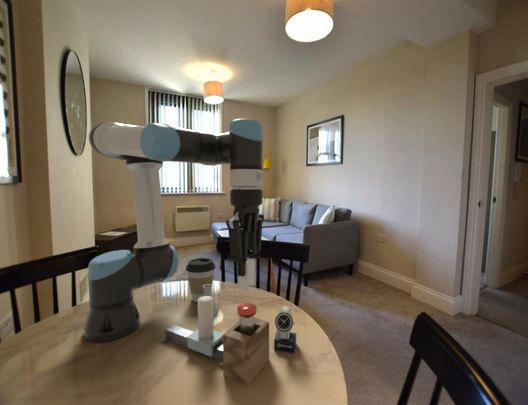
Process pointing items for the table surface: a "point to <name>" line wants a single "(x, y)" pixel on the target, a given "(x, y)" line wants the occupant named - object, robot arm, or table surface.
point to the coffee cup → (199, 276)
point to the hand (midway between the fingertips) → (246, 286)
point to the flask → (209, 293)
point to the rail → (180, 338)
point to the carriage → (205, 329)
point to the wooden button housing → (245, 352)
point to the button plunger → (246, 318)
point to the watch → (284, 331)
